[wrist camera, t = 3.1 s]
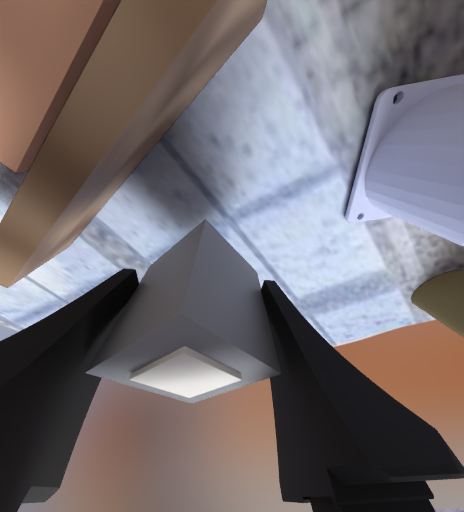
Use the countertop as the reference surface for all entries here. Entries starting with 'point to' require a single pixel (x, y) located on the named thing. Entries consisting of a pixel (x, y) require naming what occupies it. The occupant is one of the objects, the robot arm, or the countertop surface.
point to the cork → (443, 299)
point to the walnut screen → (117, 117)
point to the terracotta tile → (42, 67)
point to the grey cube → (192, 324)
